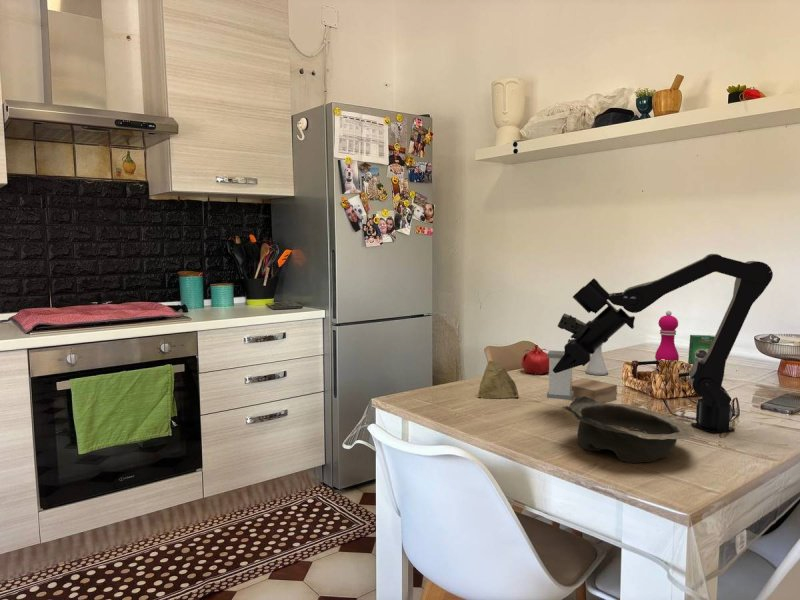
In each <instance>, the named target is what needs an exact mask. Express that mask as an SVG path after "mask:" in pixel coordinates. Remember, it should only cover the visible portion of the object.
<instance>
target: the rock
mask: <svg viewBox="0 0 800 600" xmlns="http://www.w3.org/2000/svg"><path fill="white" fill-rule="evenodd" d="M478 389H479V391H478V394H477V398H478V397H483V399H508V398H510V399H511V398H513V399H514V398H519V397H520V396H519V390H518V387H517V385H516V383H515V381H514V380H513V378H512V377H511V375H510V374H509V373H508V372H507V370H506V368H505V367H503V366H502V365H501V364H499V362H497V361H495V360H489V361H488V362H487V365H486V368H485V369H484V373H483V376H482V379H481V381H480V384H479V388H478Z"/></svg>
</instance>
